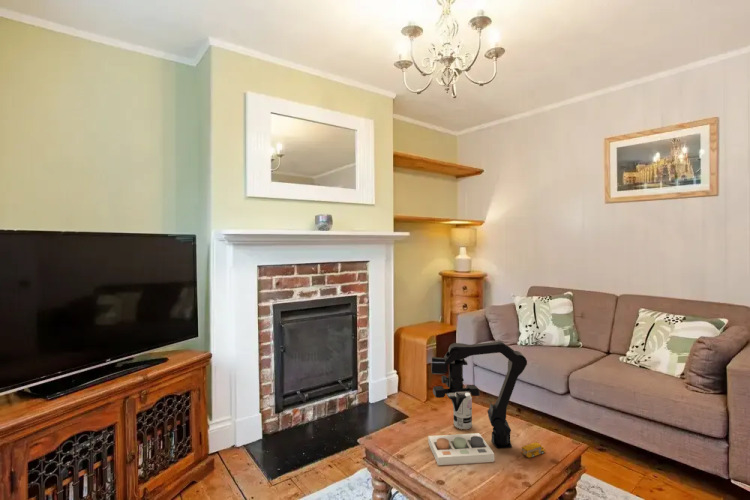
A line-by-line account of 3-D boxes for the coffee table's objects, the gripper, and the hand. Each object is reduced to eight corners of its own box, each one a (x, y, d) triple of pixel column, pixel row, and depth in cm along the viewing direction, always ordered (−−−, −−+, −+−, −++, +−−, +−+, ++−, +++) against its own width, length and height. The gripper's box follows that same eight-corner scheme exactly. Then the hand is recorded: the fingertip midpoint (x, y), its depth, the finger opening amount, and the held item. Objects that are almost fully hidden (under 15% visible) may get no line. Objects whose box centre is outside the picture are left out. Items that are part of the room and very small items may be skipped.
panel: (479, 440, 163) (479, 432, 163) (494, 461, 147) (494, 453, 147) (428, 443, 161) (428, 435, 161) (438, 465, 145) (438, 457, 145)
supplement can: (453, 421, 180) (452, 389, 180) (471, 422, 179) (470, 390, 179) (454, 429, 172) (453, 396, 172) (473, 430, 171) (472, 397, 171)
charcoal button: (480, 443, 157) (480, 435, 157) (484, 449, 152) (484, 441, 152) (469, 443, 157) (469, 436, 157) (473, 450, 152) (473, 442, 152)
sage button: (463, 444, 157) (463, 436, 156) (467, 450, 152) (467, 442, 152) (452, 444, 156) (452, 437, 156) (455, 451, 151) (455, 443, 151)
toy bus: (545, 453, 153) (545, 443, 153) (527, 459, 148) (527, 450, 148) (538, 449, 156) (538, 440, 156) (521, 455, 151) (521, 446, 151)
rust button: (447, 445, 156) (446, 437, 156) (450, 451, 151) (450, 443, 151) (435, 445, 155) (435, 438, 155) (438, 452, 151) (438, 444, 151)
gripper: (471, 367, 170) (471, 402, 171) (429, 368, 169) (429, 404, 169) (480, 376, 159) (480, 413, 159) (435, 377, 157) (436, 415, 158)
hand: (456, 411), depth 162 cm, fingers closed
